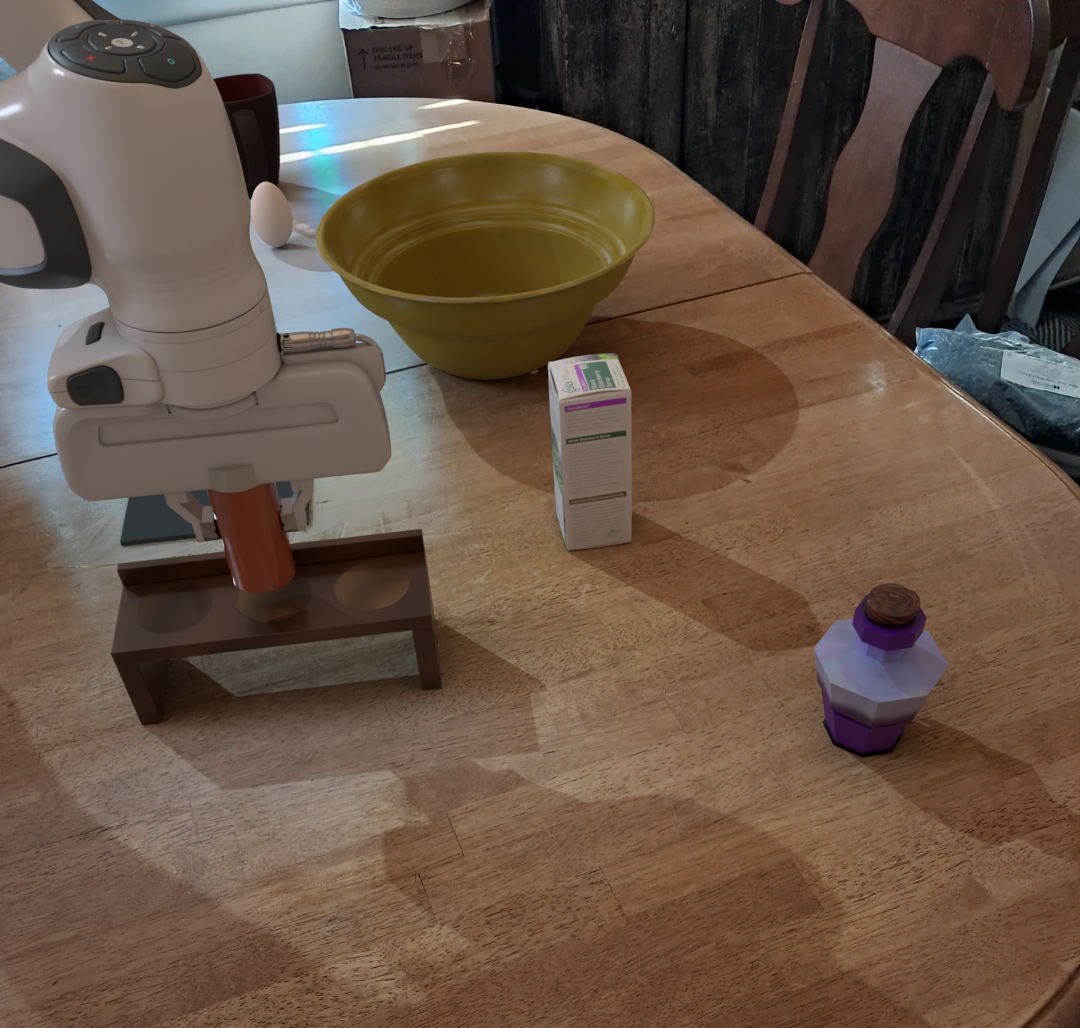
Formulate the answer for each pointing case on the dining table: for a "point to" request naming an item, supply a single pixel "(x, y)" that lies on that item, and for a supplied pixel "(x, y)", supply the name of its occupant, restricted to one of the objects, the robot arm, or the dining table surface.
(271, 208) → the egg
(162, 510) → the mat
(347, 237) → the planter bowl
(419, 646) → the spice shelf
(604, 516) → the syrup box
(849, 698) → the potion bottle
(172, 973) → the dining table surface
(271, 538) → the shaker
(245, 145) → the cup
